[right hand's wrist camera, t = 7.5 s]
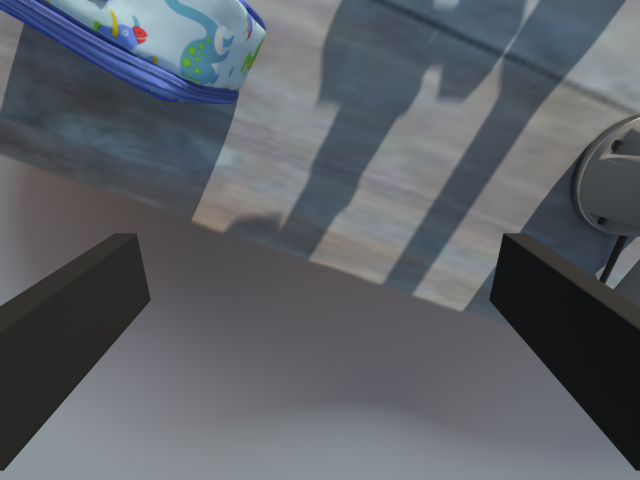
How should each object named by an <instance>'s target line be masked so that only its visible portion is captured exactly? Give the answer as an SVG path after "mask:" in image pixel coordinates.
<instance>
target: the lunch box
mask: <svg viewBox="0 0 640 480" xmlns="http://www.w3.org/2000/svg"><path fill="white" fill-rule="evenodd" d="M0 10H2V11H4V12H6V13H7V14H9V15H11V16H13V17H14V18H16V19H18V20H20V21H22V22H23V23H25V24H27V25H29V26H30V27H32V28H34V29H36V30H37V31H39V32H41V33H43V34H44V35H46V36H48V37H49V38H51V39H53V40H54V41H56V42H57V43H59V44H61V45H63V46H64V47H66V48H68V49H70V50H71V51H73V52H75V53H76V54H78V55H80V56H81V57H83V58H85V59H86V60H88V61H90V62H91V63H93V64H95V65H97V66H98V67H100V68H102V69H104V70H105V71H107V72H109V73H111V74H112V75H114V76H116V77H118V78H119V79H121V80H123V81H125V82H127V83H129V84H131V85H133V86H135V87H136V88H138V89H140V90H143V91H145V92H147V93H149V94H150V95H152V96H154V97H157V98H159V99H162V100H166V101H173V102H177V101H187V102H192V103H201V104H231V103H234V102H235V99H237V97H238V92H237V91H238V90H239V89H240V88H241V87H242V85H243V82H244V80H245V78H246V76H247V74H248V72H249V70H250V68H251V66H252V64H253V62H254V60H255V58H256V56H257V53H258V50H259V48H260V46H261V44H262V42H263V40H264V38H265V36H266V32H265V31H266V26H265V24H264V22H263V20H262V19H261V17H260V16H259V15H258V14H257V13H256V11H255V10H254V9H253V8H252V7H251V6H250V5H249V4H248V3H247V2H246V1H244V0H0Z"/></svg>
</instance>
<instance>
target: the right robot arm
mask: <svg viewBox="0 0 640 480" xmlns="http://www.w3.org/2000/svg"><path fill="white" fill-rule="evenodd" d="M571 197H572V202H573V205H574V208H575V210H576V212H577V214H578V215H579V216H580V218H581V219H582V220H583V221H585V222H586V223H587V224H589V225H590V226H592V227H595V228H597V229H599V230H601V231H604V232H607V233H610V234H616V235H620V236H619V238H618V241H617V243H616V245H615V247H614V250H613V252H612V254H611V256H610V258H609V261H608V263H607V265H606V267H605V269H604V271H603V273H602V275H601V277H600V280H597V279H596V278H594V277H593V276H591V275H590V274H588V273H586V272H585V271H583V270H582V269H580V268H578V267H577V266H575V265H574V264H572V263H571V262H569V261H567V260H566V259H564V258H563V257H561V256H560V255H558V254H556V253H555V252H553V251H552V250H550V249H549V248H547V247H545V246H544V245H542V244H541V243H539V242H537V241H536V240H534V239H533V238H531V237H530V236H528V235H526V234H525V233H503V238H502V243H501V247H500V252H499V257H498V262H497V266H496V271H495V276H494V281H493V285H492V290H491V295H490V299H489V300H490V301H491V303H492V304H493V305H494V306H495V307H496V308H497V310H498V311H499V312H500V313H501V314H502V315H503V317H504V318H505V319H506V320H507V321H508V322H509V323H510V325H511V326H512V327H513V328H514V329H515V330H516V332H517V333H518V334H519V335H520V336H521V337H522V338H523V340H524V341H525V342H526V343H527V344H528V346H529V347H530V348H531V349H532V350H533V351H534V352H535V354H536V355H537V356H538V357H539V358H540V359H541V361H542V362H543V363H544V364H545V365H546V366H547V368H548V369H549V370H550V371H551V372H552V373H553V375H554V376H555V377H556V378H557V379H558V380H559V382H560V383H561V384H562V385H563V386H564V387H565V388H566V390H567V391H568V392H569V393H570V394H571V395H572V397H573V398H574V399H575V400H576V401H577V402H578V403H579V405H580V406H581V407H582V408H583V409H584V411H585V412H586V413H587V414H588V415H589V416H590V417H591V419H592V420H593V421H594V422H595V423H596V424H597V426H598V427H599V428H600V429H601V430H602V431H603V433H604V434H605V435H606V436H607V437H608V438H609V440H610V441H611V442H612V443H613V444H614V445H615V446H616V448H617V449H618V450H619V451H620V452H621V453H622V455H623V456H624V457H625V458H626V459H627V460H628V462H629V463H630V464H631V465H632V466H633V467H634V469H635V470H637V471H640V260H639V261H638V262H637V263H636V264H635V265H634V266H633V268H632V269H631V270H630V271H629V272H628V273H627V274H626V276H625V277H624V278H623V279H622V280H621V281H620V282H619V284H618V285H617V286H616V287H615V288H614V289H612V288H610V287H608V286H607V285H605V283H606V281H607V279H608V277H609V275H610V273H611V271H612V269H613V267H614V265H615V263H616V261H617V259H618V257H619V254H620V252H621V250H622V248H623V246H624V244H625V241H626V239H627V237H628V236H638V237H640V115H636V116H632V117H630V118H627V119H624V120H622V121H620V122H618V123H616V124H615V125H613V126H611V127H610V128H608V129H607V130H606V131H604V132H603V133H602V134H601V135H599V136H598V137H597V138H596V139H595V140H594V141H593V142H592V143H591V145H590V146H589V147H588V148H587V149H586V151H585V152H584V154H583V155H582V157H581V159H580V160H579V162H578V164H577V166H576V169H575V172H574V175H573V179H572V185H571ZM149 301H150V295H149V290H148V285H147V281H146V276H145V271H144V267H143V262H142V257H141V252H140V248H139V243H138V238H137V234H133V233H132V234H131V233H128V234H127V233H126V234H122V233H121V234H120V233H119V234H118V233H117V234H114V235H112V236H110V237H109V238H107V239H106V240H104V241H103V242H101V243H99V244H98V245H96V246H95V247H93V248H92V249H90V250H88V251H87V252H85V253H84V254H82V255H81V256H79V257H77V258H76V259H74V260H73V261H71V262H69V263H68V264H66V265H65V266H63V267H62V268H60V269H58V270H57V271H55V272H54V273H52V274H50V275H49V276H47V277H46V278H44V279H43V280H41V281H39V282H38V283H36V284H35V285H33V286H32V287H30V288H28V289H27V290H25V291H24V292H22V293H21V294H19V295H17V296H16V297H14V298H13V299H11V300H10V301H8V302H6V303H5V304H3V305H2V306H0V471H4V470H5V468H6V467H7V466H8V465H9V464H10V463H11V462H12V460H13V459H14V458H15V457H16V456H17V455H18V453H19V452H20V451H21V450H22V449H23V448H24V446H25V445H26V444H27V443H28V442H29V441H30V440H31V438H32V437H33V436H34V435H35V434H36V433H37V431H38V430H39V429H40V428H41V427H42V426H43V424H44V423H45V422H46V421H47V420H48V419H49V417H50V416H51V415H52V414H53V413H54V412H55V411H56V409H57V408H58V407H59V406H60V405H61V404H62V402H63V401H64V400H65V399H66V398H67V397H68V395H69V394H70V393H71V392H72V391H73V390H74V388H75V387H76V386H77V385H78V384H79V383H80V381H81V380H82V379H83V378H84V377H85V376H86V375H87V373H88V372H89V371H90V370H91V369H92V368H93V366H94V365H95V364H96V363H97V362H98V361H99V359H100V358H101V357H102V356H103V355H104V354H105V352H106V351H107V350H108V349H109V348H110V347H111V345H112V344H113V343H114V342H115V341H116V340H117V339H118V337H119V336H120V335H121V334H122V333H123V332H124V330H125V329H126V328H127V327H128V326H129V325H130V323H131V322H132V321H133V320H134V319H135V318H136V316H137V315H138V314H139V313H140V312H141V311H142V310H143V308H144V307H145V306H146V305H147V304H148V303H149Z"/></svg>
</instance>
